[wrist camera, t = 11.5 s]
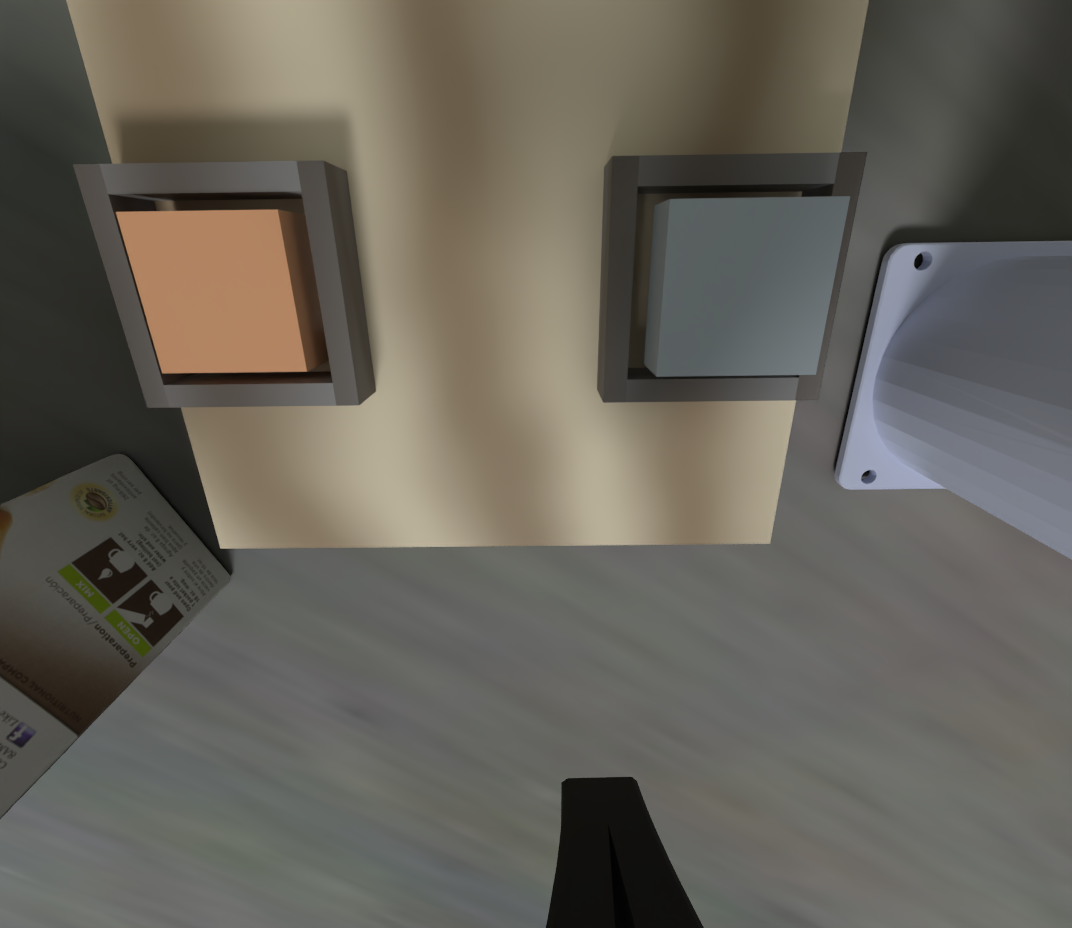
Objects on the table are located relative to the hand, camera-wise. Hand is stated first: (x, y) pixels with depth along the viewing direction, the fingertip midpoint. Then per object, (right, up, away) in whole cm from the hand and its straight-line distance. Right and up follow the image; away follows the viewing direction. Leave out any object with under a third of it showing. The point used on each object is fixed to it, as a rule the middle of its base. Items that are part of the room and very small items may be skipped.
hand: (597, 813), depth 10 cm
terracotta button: (-9, +11, +4) cm, 15 cm away
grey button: (+3, +11, +3) cm, 12 cm away
